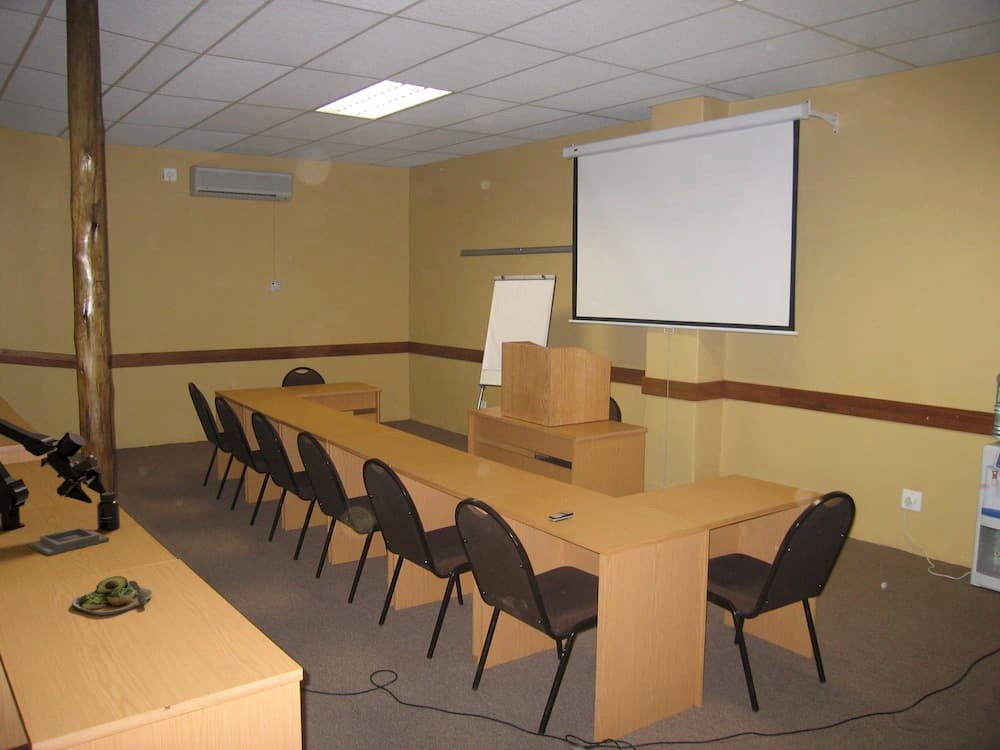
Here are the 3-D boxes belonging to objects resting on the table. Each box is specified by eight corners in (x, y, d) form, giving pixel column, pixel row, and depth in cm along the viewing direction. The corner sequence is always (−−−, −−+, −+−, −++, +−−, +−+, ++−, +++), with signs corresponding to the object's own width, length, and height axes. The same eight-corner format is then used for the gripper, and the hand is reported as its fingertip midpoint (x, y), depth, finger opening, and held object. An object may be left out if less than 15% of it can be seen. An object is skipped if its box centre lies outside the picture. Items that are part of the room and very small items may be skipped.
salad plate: (173, 599, 202) (172, 582, 202) (109, 624, 187) (108, 606, 186) (126, 584, 212) (125, 568, 211) (62, 608, 196) (61, 590, 196)
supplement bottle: (103, 532, 255) (101, 497, 254) (93, 529, 259) (91, 493, 258) (124, 527, 261) (122, 493, 259) (114, 524, 265) (112, 489, 263)
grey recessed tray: (29, 546, 242) (29, 538, 242) (89, 532, 256) (88, 524, 256) (48, 555, 233) (48, 547, 233) (109, 540, 247) (109, 533, 247)
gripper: (63, 455, 248) (99, 489, 249) (95, 443, 267) (128, 475, 267) (40, 479, 249) (76, 513, 250) (74, 466, 268) (107, 497, 268)
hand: (98, 498), depth 259 cm, fingers open, 9 cm apart
